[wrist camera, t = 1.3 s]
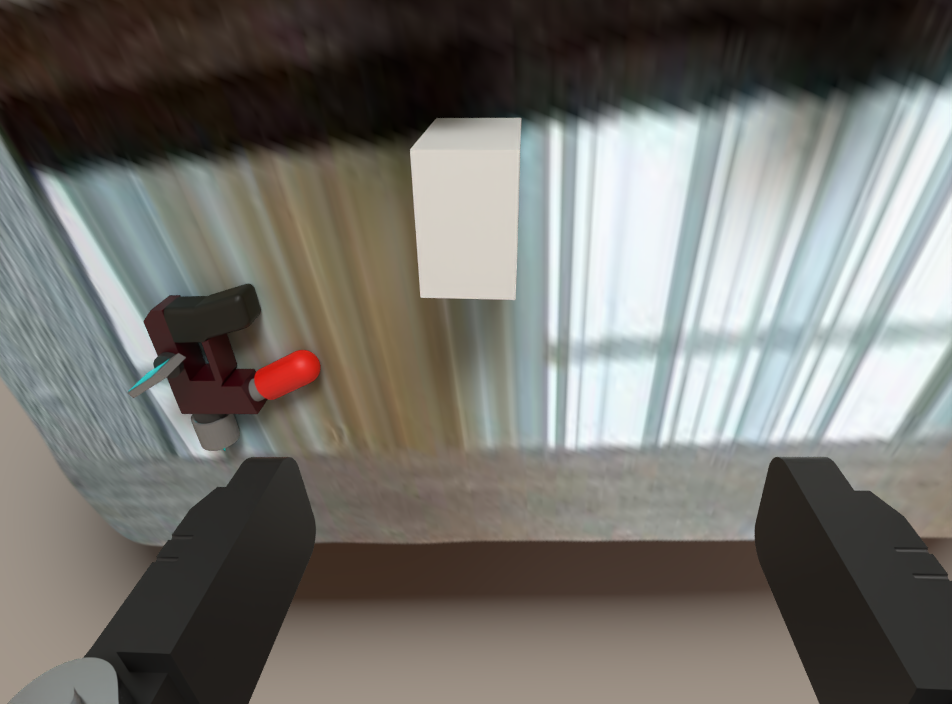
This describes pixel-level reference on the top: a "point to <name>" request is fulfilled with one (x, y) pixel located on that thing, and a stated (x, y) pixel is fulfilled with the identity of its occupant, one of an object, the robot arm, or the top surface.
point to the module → (467, 207)
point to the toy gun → (216, 362)
